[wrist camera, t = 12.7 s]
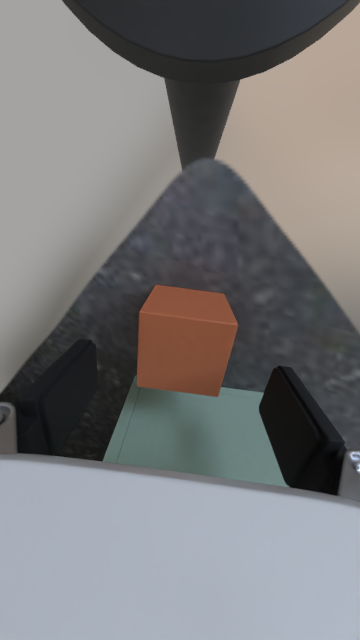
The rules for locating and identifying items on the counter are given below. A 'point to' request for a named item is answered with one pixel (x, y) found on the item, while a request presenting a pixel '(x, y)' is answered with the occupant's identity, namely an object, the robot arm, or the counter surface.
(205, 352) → the block
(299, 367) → the counter surface
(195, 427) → the compartment
